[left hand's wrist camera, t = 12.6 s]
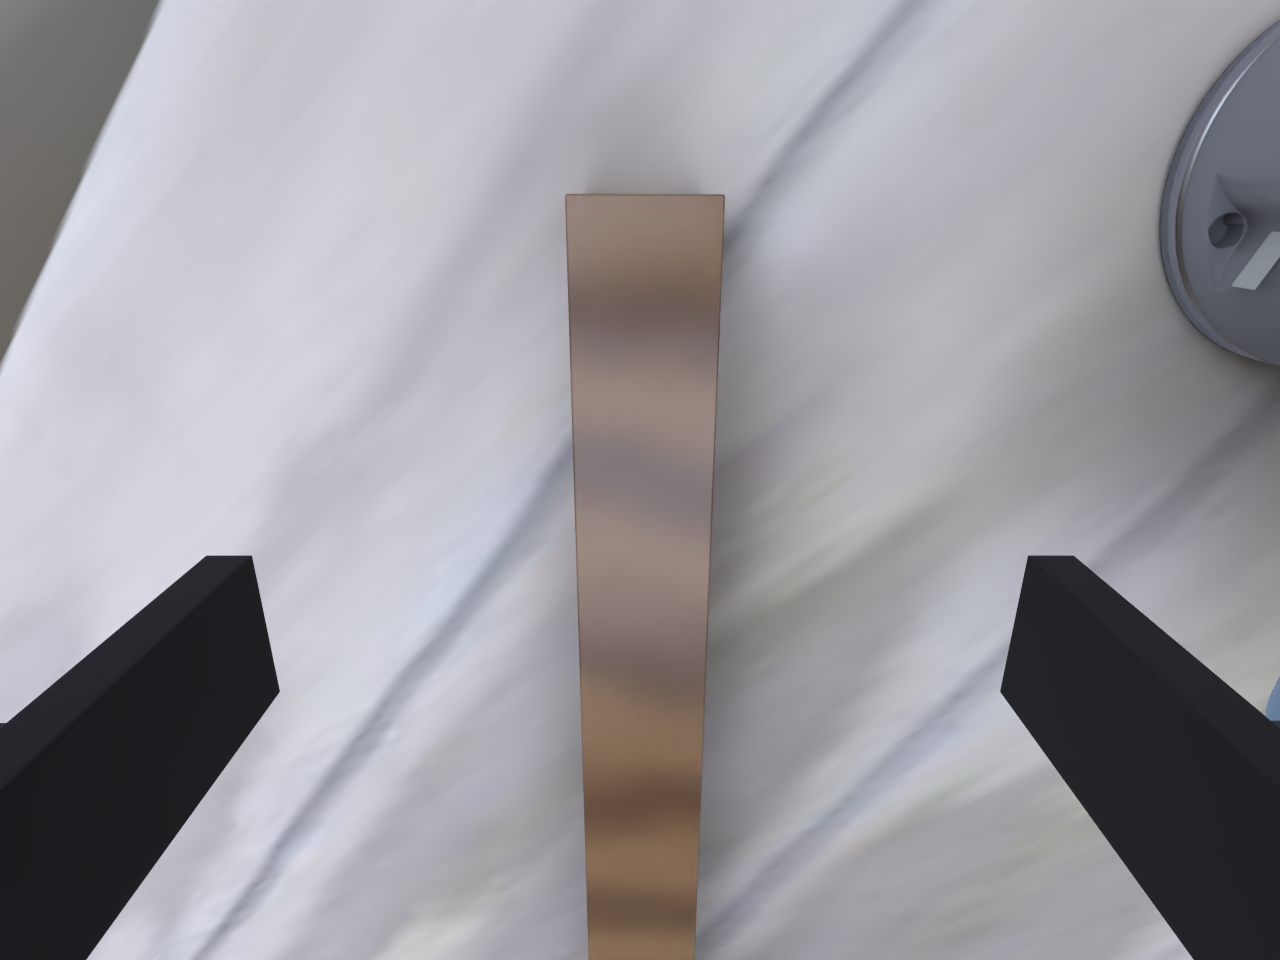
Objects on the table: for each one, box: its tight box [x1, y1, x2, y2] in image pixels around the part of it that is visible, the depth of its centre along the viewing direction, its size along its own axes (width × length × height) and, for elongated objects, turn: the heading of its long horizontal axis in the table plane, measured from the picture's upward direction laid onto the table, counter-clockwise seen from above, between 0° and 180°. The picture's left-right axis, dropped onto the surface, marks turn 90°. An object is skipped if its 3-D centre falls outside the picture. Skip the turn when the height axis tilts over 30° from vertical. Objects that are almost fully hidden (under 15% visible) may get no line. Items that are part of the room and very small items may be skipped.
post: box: [565, 194, 725, 960], centre depth 39 cm, size 60×5×9 cm, turn 0°
